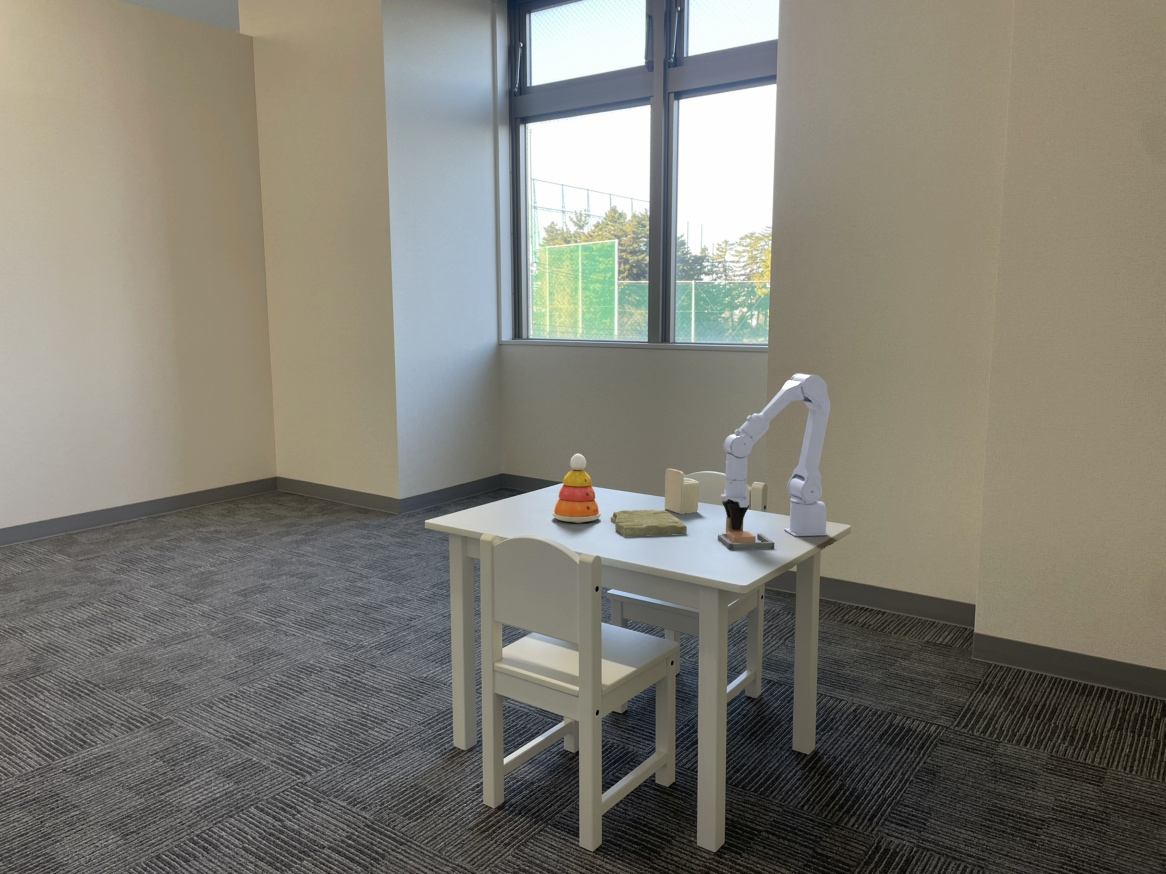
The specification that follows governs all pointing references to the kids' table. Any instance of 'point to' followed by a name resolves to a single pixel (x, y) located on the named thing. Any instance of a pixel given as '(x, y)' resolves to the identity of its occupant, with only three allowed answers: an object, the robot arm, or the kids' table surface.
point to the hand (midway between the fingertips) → (734, 528)
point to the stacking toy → (577, 495)
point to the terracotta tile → (741, 537)
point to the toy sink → (680, 492)
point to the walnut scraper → (730, 527)
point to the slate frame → (763, 544)
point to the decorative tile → (647, 523)
